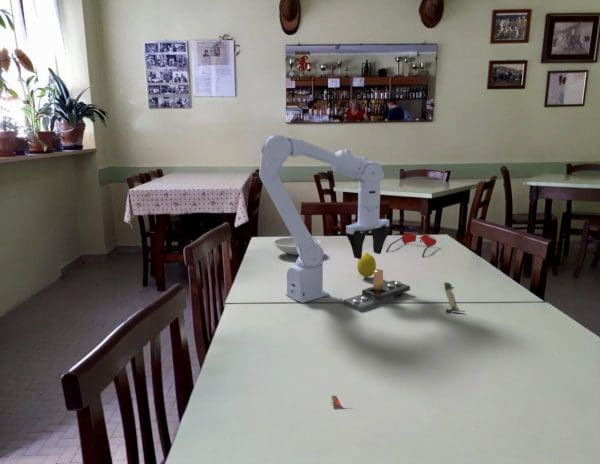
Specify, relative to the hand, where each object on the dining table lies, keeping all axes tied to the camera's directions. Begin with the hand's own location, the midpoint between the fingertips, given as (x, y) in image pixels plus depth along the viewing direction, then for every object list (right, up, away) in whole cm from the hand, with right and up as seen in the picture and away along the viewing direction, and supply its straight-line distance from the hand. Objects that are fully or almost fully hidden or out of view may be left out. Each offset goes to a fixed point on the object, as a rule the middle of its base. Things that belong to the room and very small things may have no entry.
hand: (367, 255), depth 124 cm
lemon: (+2, -8, +13) cm, 16 cm away
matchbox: (-11, -22, -48) cm, 54 cm away
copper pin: (+2, -11, -4) cm, 12 cm away
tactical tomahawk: (+23, -12, -3) cm, 26 cm away
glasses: (+23, -1, +45) cm, 51 cm away
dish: (-20, -2, +39) cm, 44 cm away
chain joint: (+2, -11, -3) cm, 12 cm away
